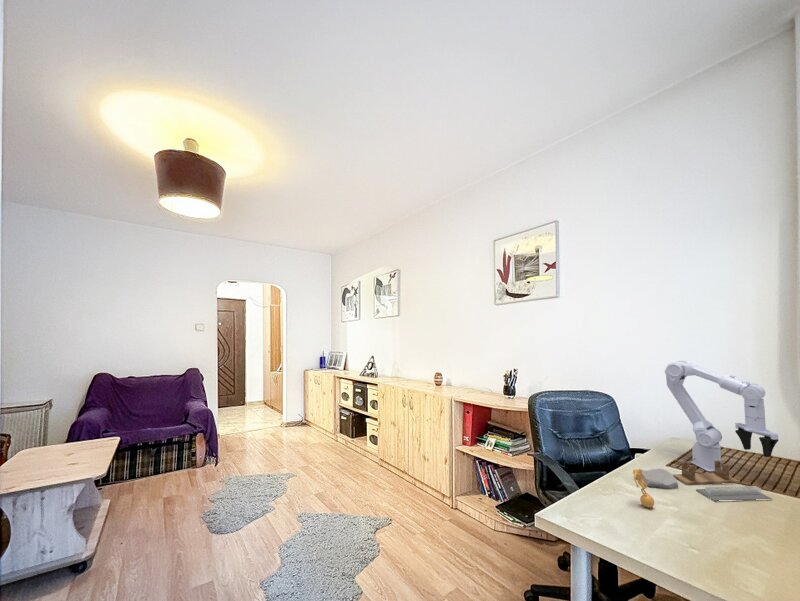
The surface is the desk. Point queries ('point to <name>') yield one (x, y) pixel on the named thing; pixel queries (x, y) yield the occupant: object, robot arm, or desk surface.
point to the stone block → (659, 478)
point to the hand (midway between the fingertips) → (757, 452)
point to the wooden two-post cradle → (705, 475)
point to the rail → (733, 490)
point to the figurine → (645, 498)
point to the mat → (733, 496)
